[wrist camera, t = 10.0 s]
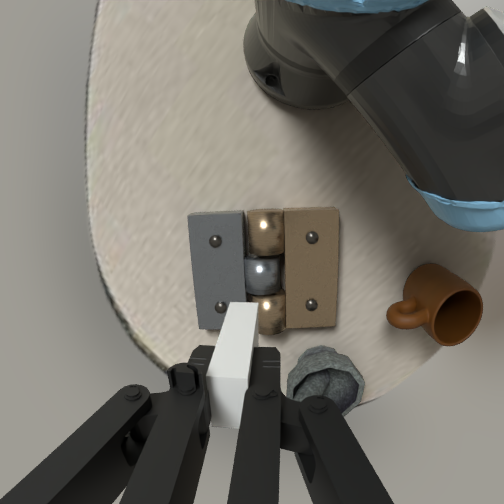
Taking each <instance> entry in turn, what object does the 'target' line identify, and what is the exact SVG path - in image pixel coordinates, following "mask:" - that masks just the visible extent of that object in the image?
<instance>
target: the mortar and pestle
mask: <svg viewBox="0 0 504 504" xmlns="http://www.w3.org/2000/svg"><path fill="white" fill-rule="evenodd" d="M364 385H365V382H364V379H363V377H362V375H361V374H360V373H359V371H358V370H357V369H356V367H355V366H354V364H353V363H352V362H351V360H350V359H349V358H348V356H345V355H342V354H338V353H337V352H336V351H335V349H334V348H330V347H326V346H322V345H320V346H317V347H314V348H310V349H307V350H306V351H305V352H304V353H303V354H302V355H301V357H300V358H299V359H298V364H297V365H296V366H295V367H294V368H293V370H292V371H291V372H290V373H289V374H288V379H287V395H286V397H288V398H289V399H292V400H295V401H299V402H301V401H302V400H303V399H305V398H306V397H309V396H312V395H322V396H326V397H328V398H330V399H332V400H333V401H334V402H335V403H336V405H337V407H338V408H339V410H340V412H341V414H342V415H343V417H344V416H345V415H347V414H348V413H349V412H350V411H351V410H352V409H353V408H354V407H355V406H357V405H358V404H359V403H360V402H361V399H362V394H363V390H364Z"/></svg>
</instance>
